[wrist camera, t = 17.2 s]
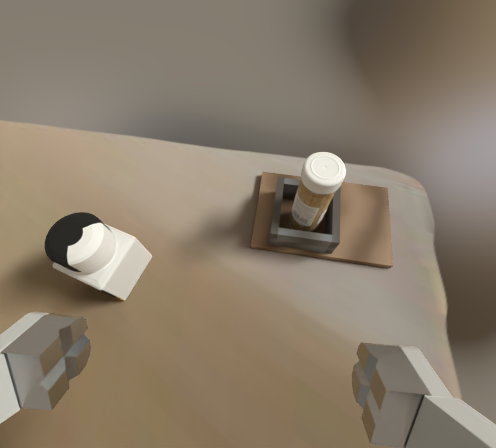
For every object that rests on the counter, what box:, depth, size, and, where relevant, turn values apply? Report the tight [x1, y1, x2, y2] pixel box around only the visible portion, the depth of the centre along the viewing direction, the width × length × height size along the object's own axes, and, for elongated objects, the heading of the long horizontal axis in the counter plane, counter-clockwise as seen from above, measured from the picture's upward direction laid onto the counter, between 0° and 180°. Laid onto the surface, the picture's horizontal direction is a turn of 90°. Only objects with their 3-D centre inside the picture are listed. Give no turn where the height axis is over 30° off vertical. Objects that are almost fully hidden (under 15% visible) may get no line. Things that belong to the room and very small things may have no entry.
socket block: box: [251, 172, 393, 268], centre depth 41 cm, size 20×13×5 cm, turn 81°
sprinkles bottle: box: [289, 152, 346, 232], centre depth 36 cm, size 5×5×14 cm
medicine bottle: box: [45, 212, 152, 301], centre depth 34 cm, size 7×7×12 cm
